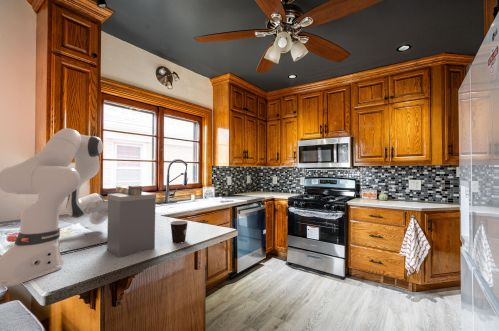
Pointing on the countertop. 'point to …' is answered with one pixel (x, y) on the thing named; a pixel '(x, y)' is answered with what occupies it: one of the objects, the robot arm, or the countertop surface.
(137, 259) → the countertop surface
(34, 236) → the robot arm
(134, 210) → the case
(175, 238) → the coffee mug
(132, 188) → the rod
